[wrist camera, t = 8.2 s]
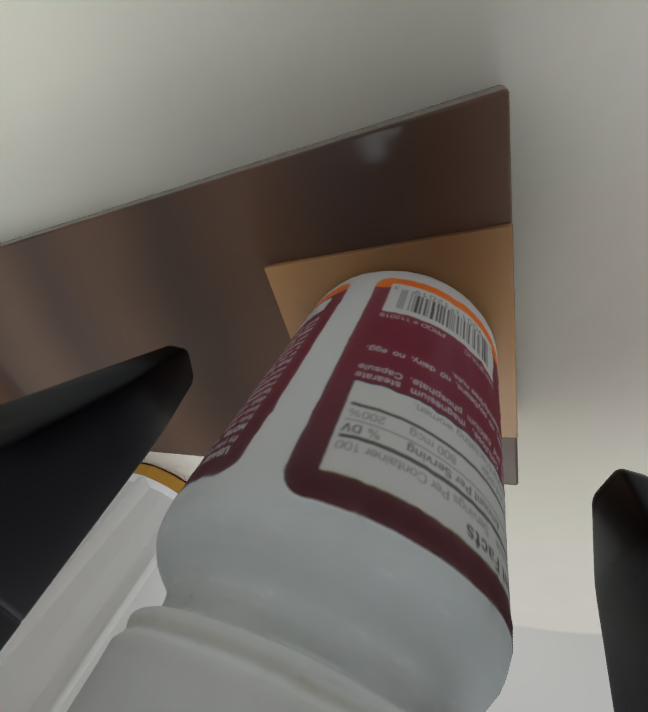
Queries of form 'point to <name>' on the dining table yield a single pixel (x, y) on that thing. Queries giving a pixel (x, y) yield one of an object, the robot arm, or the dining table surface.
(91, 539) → the cup
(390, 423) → the pill bottle
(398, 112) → the dining table surface
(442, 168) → the shelf
